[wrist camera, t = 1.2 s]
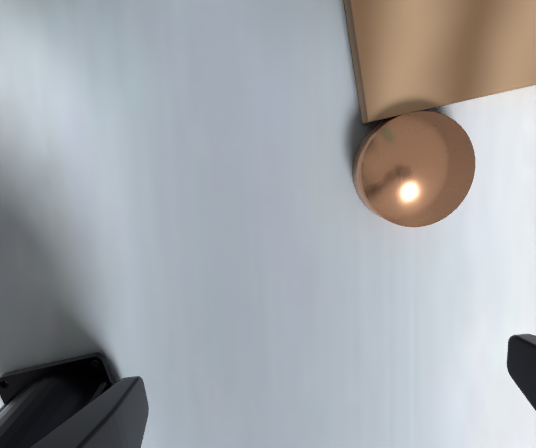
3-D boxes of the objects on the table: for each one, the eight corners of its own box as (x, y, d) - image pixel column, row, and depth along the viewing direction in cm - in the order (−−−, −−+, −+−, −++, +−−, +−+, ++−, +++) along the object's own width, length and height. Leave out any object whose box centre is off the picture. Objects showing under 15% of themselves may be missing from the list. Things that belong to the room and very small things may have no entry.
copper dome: (360, 229, 20) (371, 238, 18) (343, 128, 19) (354, 125, 17) (457, 207, 20) (479, 213, 18) (447, 104, 19) (470, 99, 17)
